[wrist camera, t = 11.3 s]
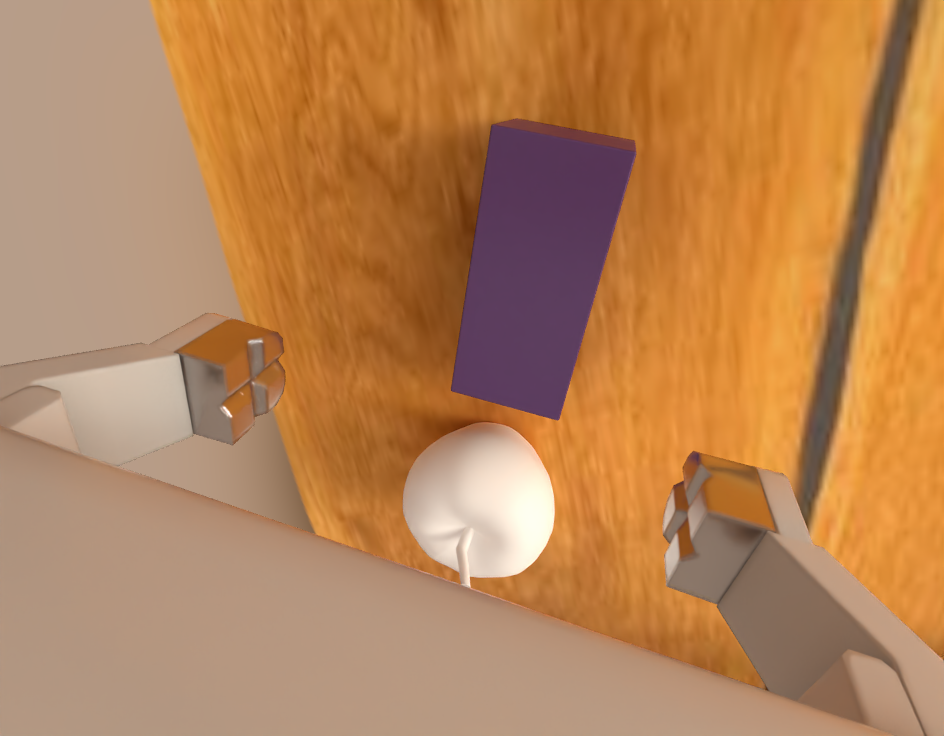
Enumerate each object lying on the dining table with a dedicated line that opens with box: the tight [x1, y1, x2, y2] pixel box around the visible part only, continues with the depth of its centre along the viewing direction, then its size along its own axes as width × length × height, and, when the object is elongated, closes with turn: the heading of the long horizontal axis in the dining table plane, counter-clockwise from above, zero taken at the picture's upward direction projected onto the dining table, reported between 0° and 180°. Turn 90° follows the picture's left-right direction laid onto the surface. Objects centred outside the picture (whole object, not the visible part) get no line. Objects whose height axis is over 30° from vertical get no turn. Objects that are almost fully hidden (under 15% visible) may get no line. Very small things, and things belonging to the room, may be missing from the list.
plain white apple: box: [403, 422, 555, 588], centre depth 24 cm, size 7×7×8 cm
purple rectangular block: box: [451, 119, 636, 420], centre depth 20 cm, size 10×4×4 cm, turn 172°
